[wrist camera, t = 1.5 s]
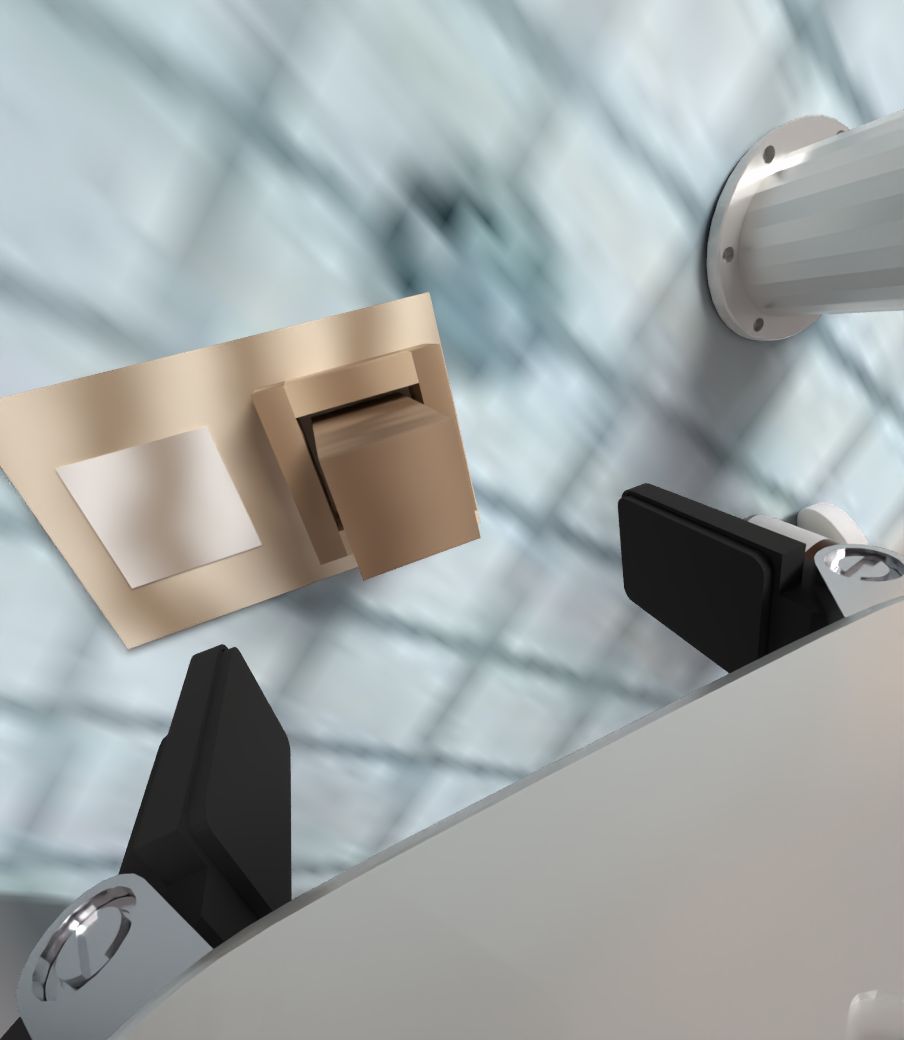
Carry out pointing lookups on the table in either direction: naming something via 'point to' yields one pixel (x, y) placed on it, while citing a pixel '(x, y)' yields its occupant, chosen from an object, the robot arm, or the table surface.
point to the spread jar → (816, 528)
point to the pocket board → (211, 463)
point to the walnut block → (395, 481)
